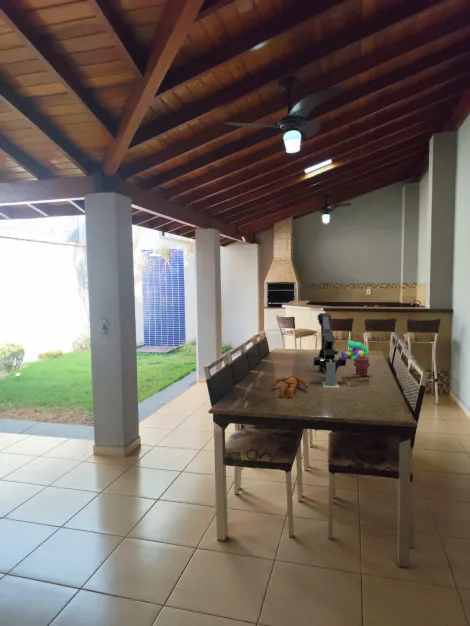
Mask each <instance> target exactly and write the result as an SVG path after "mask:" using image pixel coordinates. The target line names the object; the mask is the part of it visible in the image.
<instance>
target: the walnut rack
mask: <svg viewBox="0 0 470 626" xmlns="http://www.w3.org/2000/svg"><path fill="white" fill-rule="evenodd" d="M341 383H342V384H344V385H347V386H350V387H351V388H352V387H359V386H369V385H370V378H369V377H365V378H364V377H362V378H361V376H360V375H357V374H355V375H347V376H344V375H343V376H341Z"/></svg>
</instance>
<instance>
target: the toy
mask: <svg viewBox="0 0 470 626" xmlns="http://www.w3.org/2000/svg"><path fill="white" fill-rule="evenodd" d="M281 382H283V384H282V386H281V387H280V388H279V390H278V392H277V393H278V394H277V397H278V398H285V397H286V398H287V399H288V398H289V399H294V393H295V391H296V387H298V385H299V384H301V385H303V387H304V390H306V389H308V388H309V386H308V382H307V380H306V379H303V378H301V377H298V376H297V375H290V376H289V377H284V376H282V377H278V378H276V379H275V380H274V381H273V382H272V386H273V387H276V385H277V384H279V383H281Z"/></svg>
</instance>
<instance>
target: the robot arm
mask: <svg viewBox="0 0 470 626" xmlns="http://www.w3.org/2000/svg"><path fill="white" fill-rule="evenodd" d="M331 320H332V314H329V312H322V313H321V312H319V314H317V321H318V324H319V326H320V335H321V336H320V341H321V347H320V350H319V351H318V355H317V356H314V357H313V364H312V365H313V366H314V367H315V366H316V367H317V366H319V367H318V371H317V372H318V373H324V374H325V375H326V362H330V359H331V360H332V362H335V364H336V367H335V375H337V370H338V369H339V368H340V367H345V366H346V365H347V357H346V358H345V357H342V356H339V357H338V359H335V358H336V355H339V350H338V348H334V344H335V341H336V337H335V335H334V333H333V331H332V330H331V324H330V321H331Z"/></svg>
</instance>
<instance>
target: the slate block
mask: <svg viewBox="0 0 470 626" xmlns="http://www.w3.org/2000/svg"><path fill="white" fill-rule="evenodd" d="M335 367H336V364H335V362H332V360H331V359H330V362H326V374H325V382H326V386H335V382H336V374H335Z"/></svg>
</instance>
